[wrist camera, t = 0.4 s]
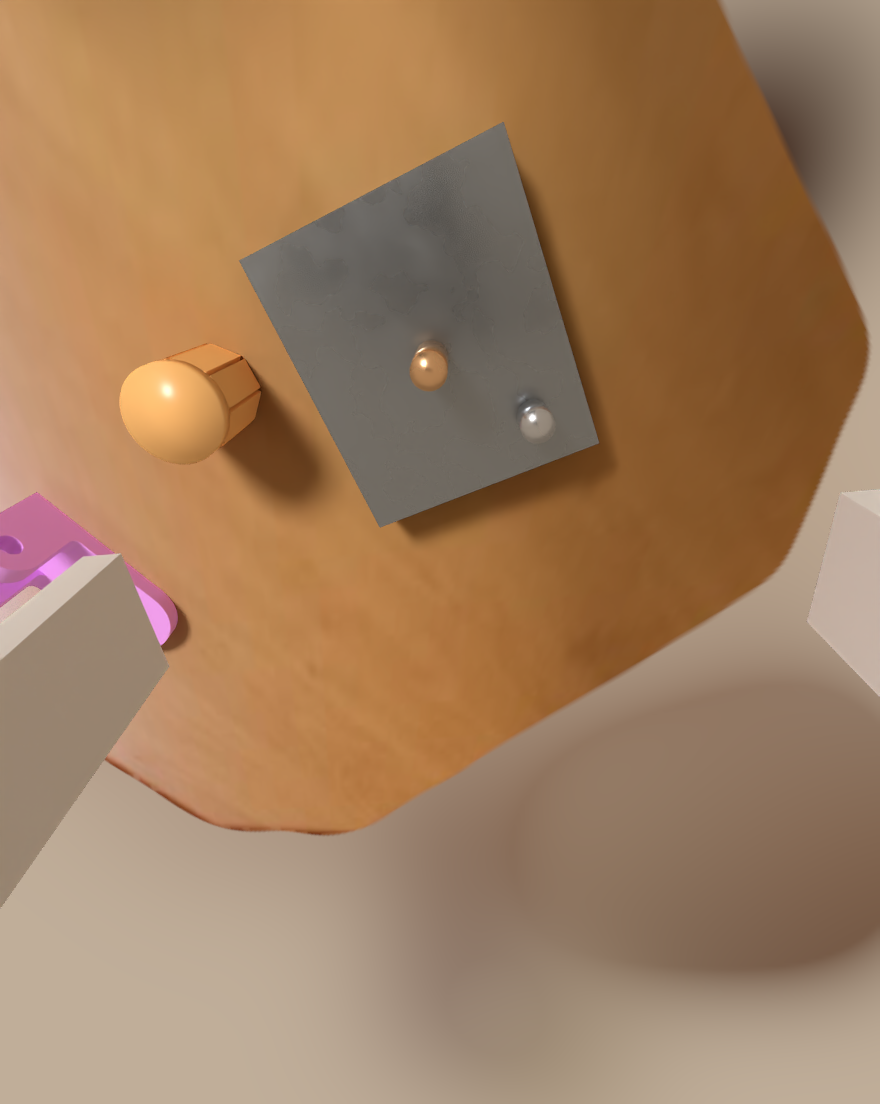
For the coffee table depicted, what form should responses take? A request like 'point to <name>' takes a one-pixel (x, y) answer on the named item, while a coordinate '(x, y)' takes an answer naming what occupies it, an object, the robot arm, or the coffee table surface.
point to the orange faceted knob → (189, 403)
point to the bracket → (62, 557)
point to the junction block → (430, 331)
